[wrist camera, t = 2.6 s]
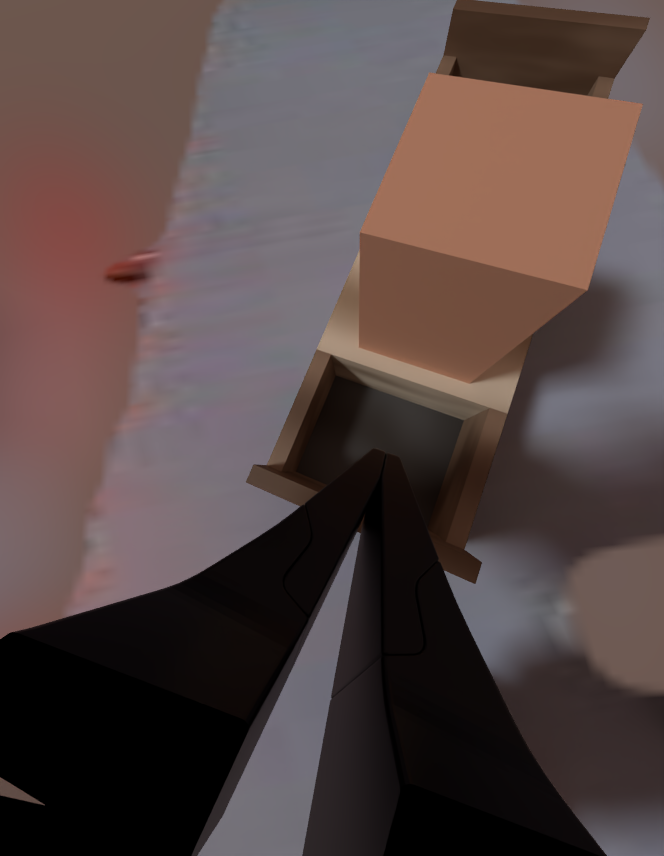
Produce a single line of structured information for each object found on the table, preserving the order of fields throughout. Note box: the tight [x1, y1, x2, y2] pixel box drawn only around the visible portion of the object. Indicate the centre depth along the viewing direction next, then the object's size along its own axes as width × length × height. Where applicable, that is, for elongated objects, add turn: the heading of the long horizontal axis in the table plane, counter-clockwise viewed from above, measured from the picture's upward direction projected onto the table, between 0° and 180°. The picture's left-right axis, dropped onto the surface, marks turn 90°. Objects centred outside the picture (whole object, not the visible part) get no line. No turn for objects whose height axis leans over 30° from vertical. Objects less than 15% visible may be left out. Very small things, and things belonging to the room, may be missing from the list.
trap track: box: [246, 0, 650, 584], centre depth 18 cm, size 36×12×6 cm, turn 158°
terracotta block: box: [359, 73, 643, 384], centre depth 12 cm, size 7×7×8 cm
